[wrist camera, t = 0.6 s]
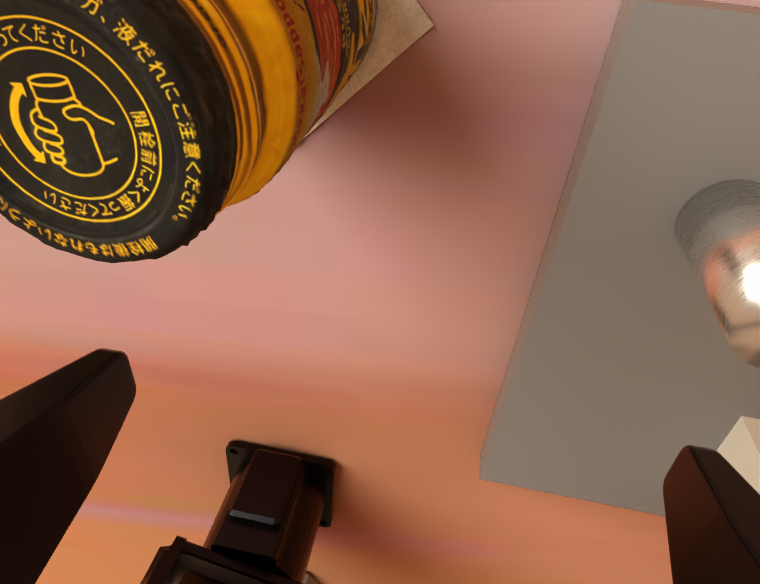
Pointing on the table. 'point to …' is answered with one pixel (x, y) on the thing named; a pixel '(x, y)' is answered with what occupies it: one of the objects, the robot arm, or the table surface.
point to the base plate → (635, 270)
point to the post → (727, 258)
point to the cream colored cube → (744, 449)
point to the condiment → (170, 107)
